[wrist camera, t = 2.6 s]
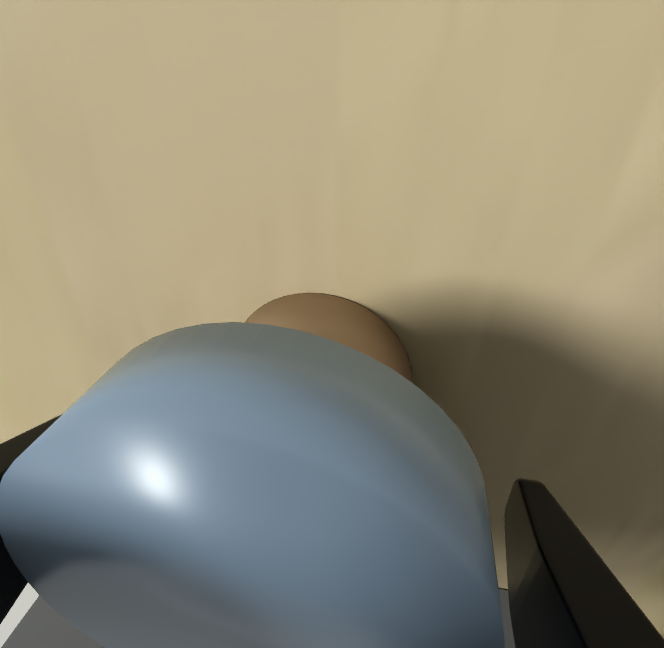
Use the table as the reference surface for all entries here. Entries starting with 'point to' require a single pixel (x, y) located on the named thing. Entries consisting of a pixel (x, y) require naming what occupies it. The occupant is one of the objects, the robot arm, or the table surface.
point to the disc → (256, 502)
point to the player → (71, 644)
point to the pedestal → (337, 326)
